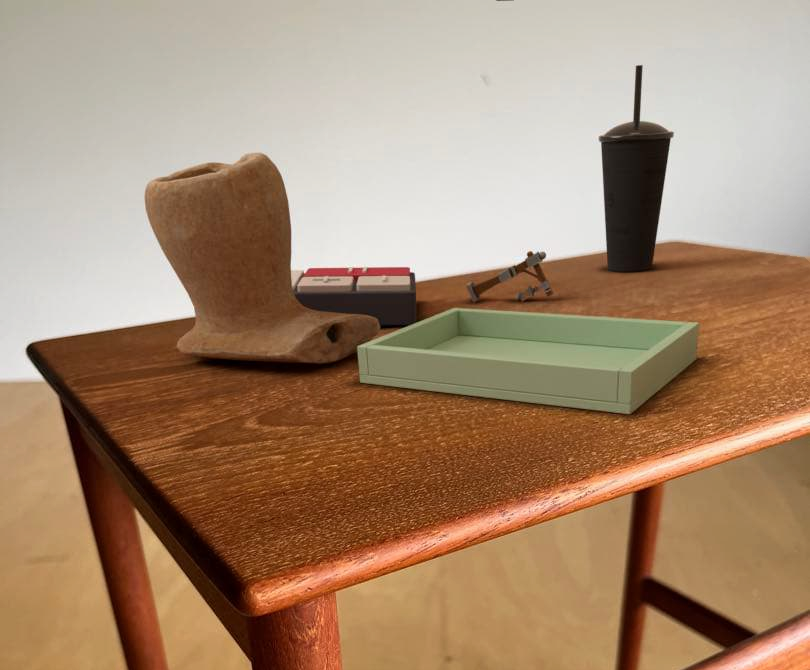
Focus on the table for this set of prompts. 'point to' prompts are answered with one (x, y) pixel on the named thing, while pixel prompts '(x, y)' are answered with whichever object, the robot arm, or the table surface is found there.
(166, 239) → the boot-shaped pottery piece
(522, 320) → the tray
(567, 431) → the table surface
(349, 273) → the dark box with panels
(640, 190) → the drinking cup
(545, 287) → the wooden post with brackets
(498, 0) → the robot arm
